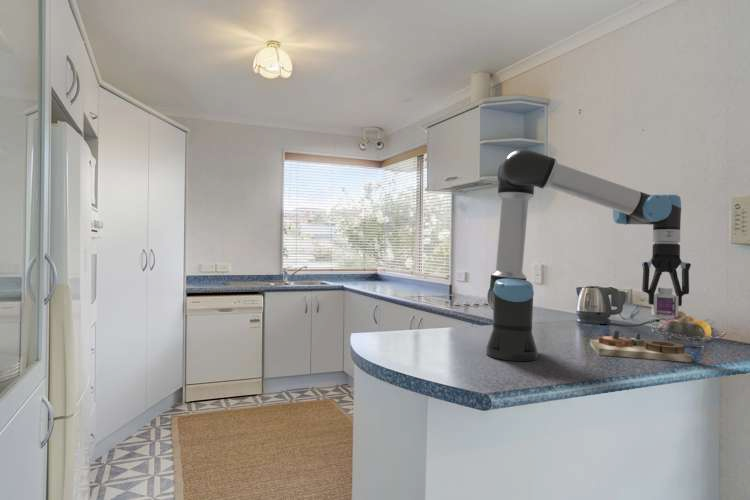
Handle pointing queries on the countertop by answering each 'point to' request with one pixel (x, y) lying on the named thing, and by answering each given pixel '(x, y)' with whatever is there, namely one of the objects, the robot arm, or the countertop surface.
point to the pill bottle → (665, 303)
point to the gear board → (639, 348)
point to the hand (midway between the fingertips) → (664, 315)
